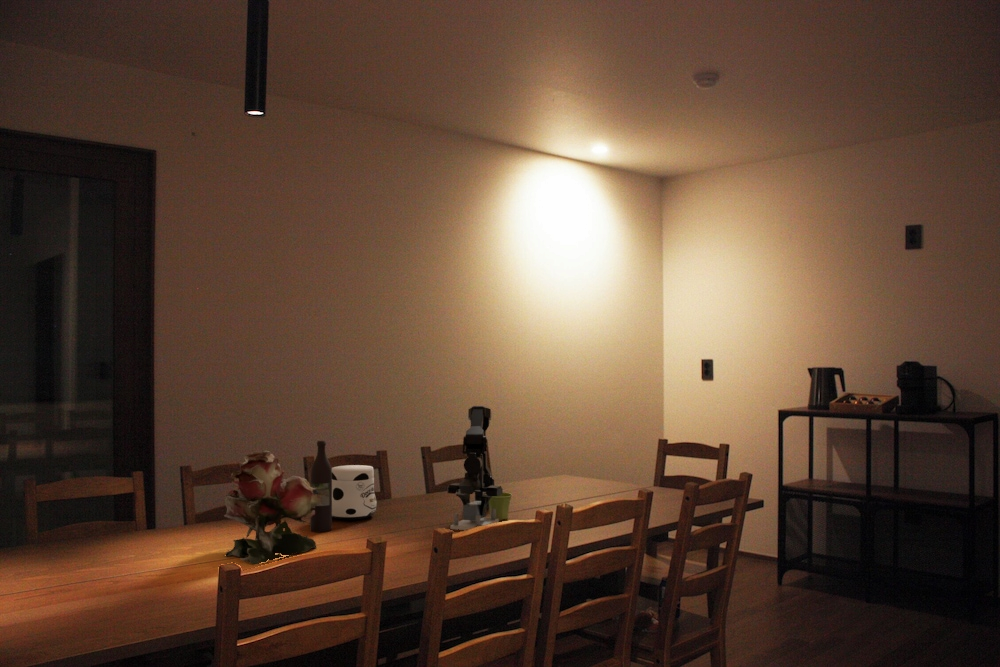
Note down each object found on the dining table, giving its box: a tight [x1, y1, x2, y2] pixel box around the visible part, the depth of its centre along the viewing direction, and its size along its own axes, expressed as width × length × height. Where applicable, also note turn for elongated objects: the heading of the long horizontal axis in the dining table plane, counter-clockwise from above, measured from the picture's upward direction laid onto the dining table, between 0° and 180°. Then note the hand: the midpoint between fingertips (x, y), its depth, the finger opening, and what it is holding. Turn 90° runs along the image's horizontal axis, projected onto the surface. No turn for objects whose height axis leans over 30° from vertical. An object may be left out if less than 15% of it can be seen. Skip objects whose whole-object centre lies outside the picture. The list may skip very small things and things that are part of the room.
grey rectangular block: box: [462, 500, 487, 521], centre depth 274 cm, size 9×5×5 cm, turn 160°
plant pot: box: [488, 491, 513, 521], centre depth 286 cm, size 9×9×9 cm
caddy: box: [449, 509, 500, 531], centre depth 274 cm, size 16×11×5 cm
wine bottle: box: [309, 439, 333, 533], centre depth 268 cm, size 7×7×30 cm
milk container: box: [331, 464, 378, 521], centre depth 289 cm, size 17×17×18 cm
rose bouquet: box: [223, 450, 321, 566], centre depth 241 cm, size 26×29×30 cm
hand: (474, 514), depth 274 cm, fingers closed on grey rectangular block, 5 cm apart
